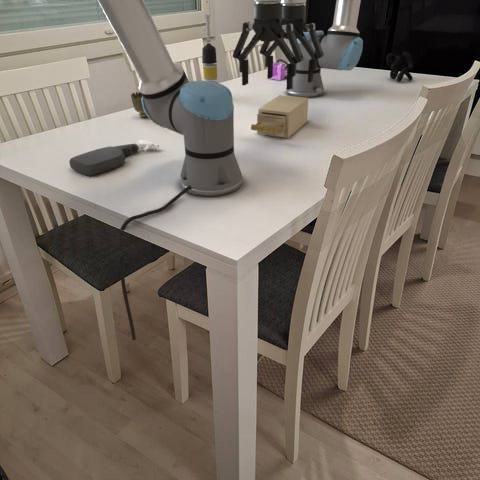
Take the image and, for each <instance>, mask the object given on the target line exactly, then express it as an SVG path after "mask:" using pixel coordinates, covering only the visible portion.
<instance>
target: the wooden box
mask: <svg viewBox="0 0 480 480" xmlns="http://www.w3.org/2000/svg"><path fill="white" fill-rule="evenodd" d="M308 110H309V97H295V96H290V95H283V94H278V96H276V97H275V98H273V99H272V100H270V101H269V102H267V103H266V104H263V105H261V106H260V107H259V108H258V109H257V111H258V113H257V114H259V113H261V114H263V113H272V114H280V115H286V132H285V137H282V138H284V139H289V138H290V137H292V136H293V134H294V133H296V132H297V131H298V130H300V129H301V128H302V126H304V125H305V124H306V123H307V122H308V112H309V111H308ZM261 135H263V136H267V135H266V134H261ZM268 136H270V137H274V136H273V135H268ZM275 137H277V138H281V137H280V136H275Z"/></svg>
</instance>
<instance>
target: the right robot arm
mask: <svg viewBox="0 0 480 480" xmlns="http://www.w3.org/2000/svg"><path fill="white" fill-rule="evenodd" d="M361 2H362V0H336V1H335V8H334V15H333V22H332V26H331V27H329V28H328V30H327V34H326V35H325V33H324V30H316V23H315V22H312V23H306V12H307V7H306V5H305V4H306V3H307V0H282V1H280V3H282V5H283V7H282V24H283V25H286V24H290V23H292V24H293V25H294V34H295V36H296V39H297V42H298V44H299V47H300V50H301V52H302V55H303V57H304V60H303V61H301V62H299V63H297V66H296V75H295V76H294V77H293V82H292V88H291V89H289V90H287V89H286V88H285V92H286V95H287V96H295V97H305V98H316V97H321V96H322V95H324V92H325V88H324V84H323V78H322V75H321V71H322V69H325V70H335V71H339V72H340V71H341V72H342V71H352V70H353V69H354V68H355V67H356V66H357V64H358V63H359V61H360V58H361V56H362V53H363V48H364V45H363V44H364V40H363V39H362V38H361V37H360V31H359V30H358V27H357V25H358V18H359V12H360V6H361ZM305 30H307V31H305ZM280 34H281V35H282V37H283V38H284V39H285V40H288V37H287V33H285V31H284V30H282V32H281V33H280ZM270 44H271V42H268V41H263V43H262V45H261V47H260V49H259V54H260V55H262V56H264V67H265V68H267V73H266V74H267V78H266V79H268V80H270V78H272V77H273V62H274V55H272V54H273V53H274V51H275V50H276V49H277V48H278V47H279V46H278V45H277V44H276V43H275V41H273V42H272V44H271V45H270ZM269 45H270V46H269ZM291 51H292V53H293V50H292V49H291ZM293 54H294V53H293ZM294 56H295V55H294ZM279 62H281V63H284V64H285V70H287V65H288V64H289V62H287V61H286V60H284V59H281V58H279V59H277V60H276V63H277V64H278V63H279ZM285 80H287V77H286V76H285Z"/></svg>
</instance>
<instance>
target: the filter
mask: <svg viewBox="0 0 480 480" xmlns="http://www.w3.org/2000/svg"><path fill="white" fill-rule="evenodd" d="M210 17H211V14H204V18H205V27H206V29H205V30H206V31H205V33H206V39H207V40H206V42H207V43H206V45H204V46H202V49H201V50H202V51H201V52H202V54H201V55H202V57H201V58H202V61H201V63H202V71H203V72H202V73H203V74H202V75H203V81H208V82H216V83H219V82H218V81H216V80H218V64H216V63H218V61H217V48H216V47H215V46H214V45H212V43H210V42H211V40H210V39H211V31H210V29H211V28H210Z"/></svg>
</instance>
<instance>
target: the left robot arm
mask: <svg viewBox="0 0 480 480" xmlns="http://www.w3.org/2000/svg"><path fill="white" fill-rule="evenodd" d="M253 1H254V2H255V3H254V4H253V23H252V22H250V21H245V22H243V23H242V28H241V29H242V30H241V33H240V36H239V38H238V41H237V43H236V45H235V48H234V51H233V53H232V58H233V59H236V60H238V71H239V73H241V86H246V85H248V84H249V60H248V59H247V58H248V56H249V55H250V54H251V52H252V51H253V49H254V48H255V47H256V46H257V44H258V42H264V41H268V42H270V43H273V42H274V41H275V43H276V44H277V45H278V46H277V47H279V49H280V50H281V52H282V53H283V55H284V57H285V58H286V59H287V61H288V65H287V64H286V65H287V68H286V71H287V79H286V87H285V90H286V89H287V90H289V89H291V88H292V82H293V77H294V76H295V75H296V66H297V63H299V62H301V61H303V60H304V57H303V55H302V52H301V50H300V47H299V44H298V42H297V39H296V36H295V34H294V25H293V24H292V23H290V24H286V25H283V24H282V7H283V5H282V3H281V2H280V1H282V0H253ZM97 2H98V3H99V5H100V7H101V10H102V12H103V13H104V15H105V17H106V19H107V20H108V22H109V24H110V26H111V28H112V29H113V32H114V33H115V35H116V37H117V39H118V40H119V43H120V44H121V46H122V48H123V49H124V51H125V53H126V56H127V57H128V59H129V61H130V63H131V64H132V66H133V68H134V70H135V71H136V73H137V75H138V77H139V79H140V82H139V85H138V90H139V92H141V94H142V99H141V101H142V107H143V110H144V112H145V113H146V115H147V116H148V117H147V118H148V119H149V120H150V121H152V122H153V123H154V124H155V125H157V126H159V127H162V128H163V129H168V130H170V131H172V132H175V133H177V134H178V135H179V134H180V135H181V136H183V143H184V154H185V155H184V158H183V164H182V168H181V171H180V177H179V178H180V179H179V183H180V184H179V185H180V188H181V189H182V190H181V191H179V192H178V193H177V194H176V195H175V196H174V197H173V198H171V199H169V201H167V203H165V204H164V205H163V206H161V207H159V208H155V209H152V210H148V211H146V212H143V213H140V214H136V215H132V216H130V217H129V218H127V219H125V220H124V222H123V223H122V225H121V227H120V228H119V230H120V231H124V230H125V229H126V227H128V225H129V224H130V223H131V222H132V221H136V220H139V219H142V218H145V217H148V216H151V215H155V214H158V213H161V212H163V211H165V210H166V209H169V207H171V205H172V204H174V203H175V202H177V200H178V199H180V198H181V197H182V196H183V195H184V194H186V193H187V194H190V195H194V196H199V197H221V196H224V195H229V194H232V193H234V192H235V191H237V190H239V189H240V188H241V187H242V185H243V174H242V171H241V168H240V165H239V163H238V160H237V157H236V154H235V125H234V123H235V121H234V118H235V117H234V114H235V113H234V112H235V110H234V109H235V106H234V101H233V94H232V91H231V90H230V89H229V87H227V86H226V85H224V84H222V83H220V82H218V83H216V82H217V81H215V82H208V80H193V81H192V80H191V81H190V80H189V78H188V76H187V73H186V72H185V69H184V68H183V66H182V65H180V64H177V63H174V61H173V60H172V57H171V55H170V52H169V50H168V49H167V46H166V44H165V42H164V39H163V38H162V36H161V34H160V32H159V30H158V29H159V28H157V25H156V23H155V21H154V19H153V16H152V14H151V12H150V11H149V8H148V6H147V3H146V2H145V0H97ZM252 30H253V32H254V35H253V37H252V38H251V40H250V41H249V42H248V44H246V42H247V39H248V37H249V35H250V32H252ZM282 30H284V31H285V33H287V37H288V39H287V40H288V42H289V45H290V47H289V46H288V44H287V42H286V41H285V38H283V37H282V35H281V34H280V33H281V32H282ZM245 44H246V46H245ZM244 47H245V48H244ZM290 48H291V49H290ZM292 50H293V53H294V54H293V53H292ZM294 55H295V56H294ZM118 263H119V277H120V284H121V291H122V296H123V299H124V300H123V301H124V305H125V309H126V313H127V318H128V322H129V328H130V332H131V333H130V334H131V338H132V339H131V340H132V341H135V340H137V338H136V332H135V326H134V321H133V316H132V311H131V307H130V303H129V298H128V293H127V287H126V286H127V285H126V279H125V272H124V271H125V268H124V267H125V266H124V257H121V256H119V257H118Z"/></svg>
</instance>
